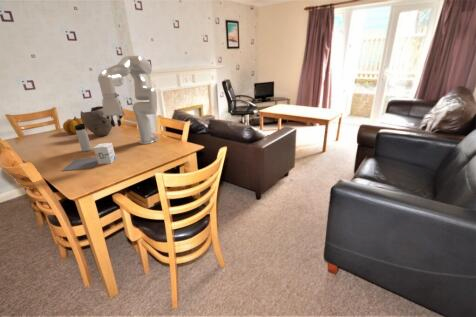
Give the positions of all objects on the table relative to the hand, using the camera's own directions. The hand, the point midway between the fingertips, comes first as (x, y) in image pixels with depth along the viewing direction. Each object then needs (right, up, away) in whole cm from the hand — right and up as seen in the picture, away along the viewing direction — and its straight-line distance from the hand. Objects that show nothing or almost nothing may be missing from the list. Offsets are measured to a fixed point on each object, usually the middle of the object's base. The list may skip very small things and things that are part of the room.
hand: (116, 126), depth 151 cm
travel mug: (-37, -15, +29) cm, 49 cm away
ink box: (-10, -23, +7) cm, 26 cm away
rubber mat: (-24, -24, +5) cm, 34 cm away
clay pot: (-46, 0, +65) cm, 79 cm away
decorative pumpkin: (-76, +4, +78) cm, 109 cm away
